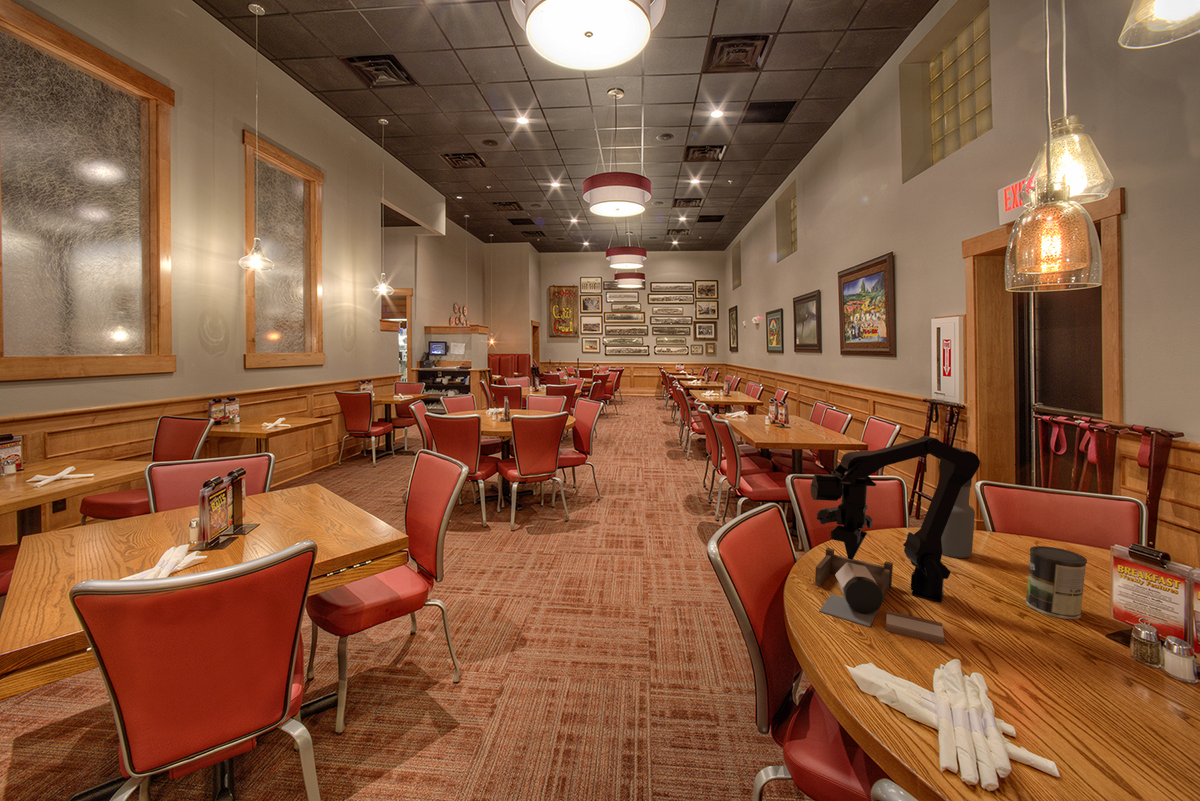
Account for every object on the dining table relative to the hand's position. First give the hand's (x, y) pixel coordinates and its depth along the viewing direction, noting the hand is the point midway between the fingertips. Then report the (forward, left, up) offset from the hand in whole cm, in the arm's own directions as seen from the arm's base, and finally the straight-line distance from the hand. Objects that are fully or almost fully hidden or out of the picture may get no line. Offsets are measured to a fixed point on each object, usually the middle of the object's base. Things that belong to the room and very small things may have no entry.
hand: (850, 558), depth 131 cm
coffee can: (-42, -22, -9) cm, 48 cm away
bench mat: (-3, +11, -9) cm, 15 cm away
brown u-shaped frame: (0, -4, -9) cm, 9 cm away
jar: (-1, +1, -5) cm, 5 cm away
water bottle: (-20, -50, -9) cm, 54 cm away
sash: (-16, +11, -9) cm, 22 cm away
